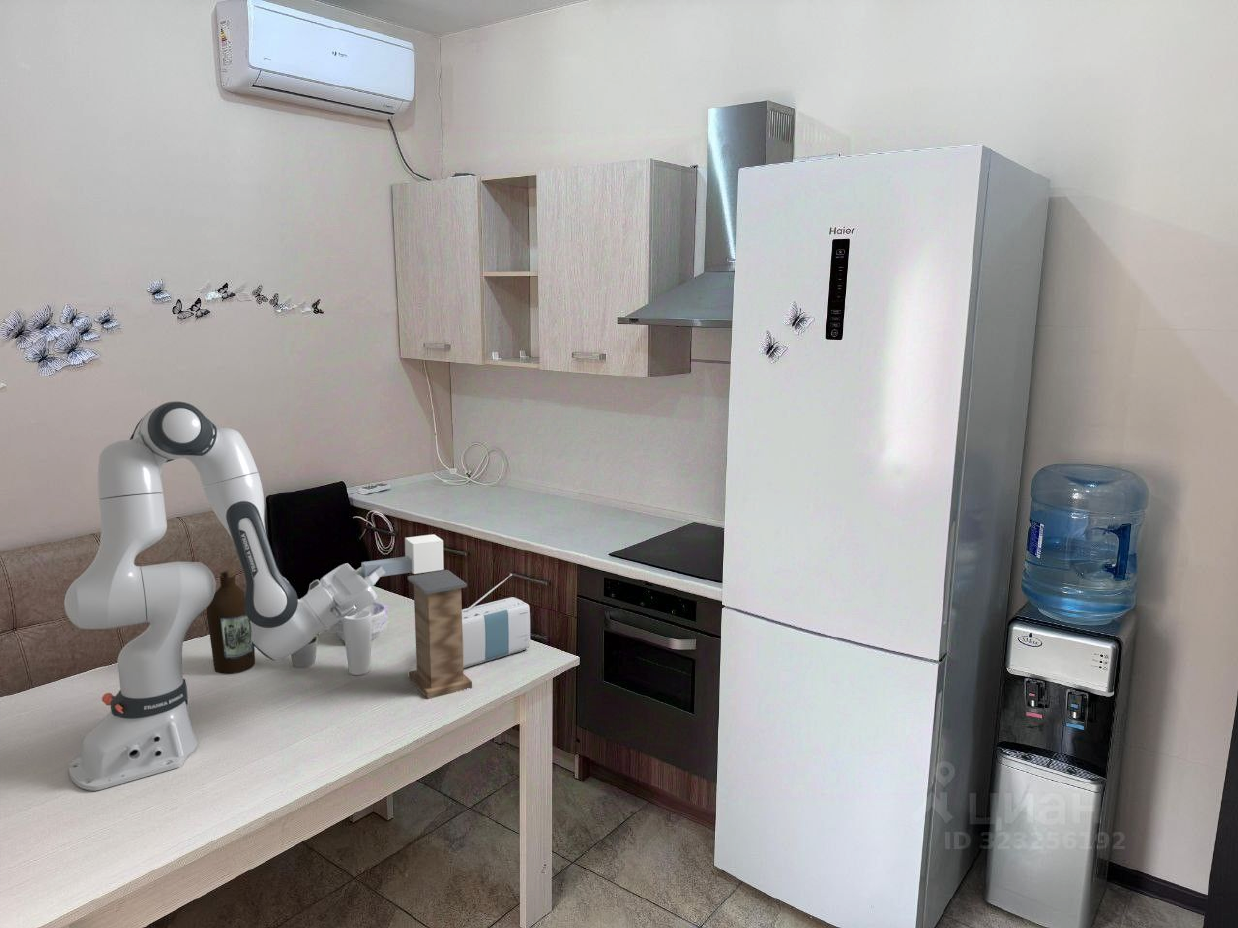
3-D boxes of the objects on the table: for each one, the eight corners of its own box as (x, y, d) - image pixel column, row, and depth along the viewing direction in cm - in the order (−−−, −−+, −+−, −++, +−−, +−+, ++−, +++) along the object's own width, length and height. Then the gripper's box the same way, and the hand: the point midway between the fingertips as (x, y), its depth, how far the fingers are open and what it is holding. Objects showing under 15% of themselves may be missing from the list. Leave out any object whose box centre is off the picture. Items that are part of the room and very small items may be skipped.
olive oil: (205, 665, 212) (196, 570, 207) (248, 653, 219) (241, 561, 214) (220, 679, 204) (211, 580, 199) (264, 666, 211) (257, 571, 207)
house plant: (312, 680, 204) (309, 617, 201) (261, 675, 207) (256, 612, 204) (343, 656, 218) (340, 596, 215) (294, 651, 220) (290, 592, 217)
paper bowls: (400, 633, 234) (399, 605, 232) (357, 651, 221) (355, 623, 220) (362, 621, 242) (361, 595, 240) (318, 639, 229) (316, 611, 227)
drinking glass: (356, 679, 205) (353, 621, 202) (339, 672, 209) (336, 614, 206) (379, 670, 210) (377, 613, 207) (362, 663, 214) (360, 607, 211)
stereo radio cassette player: (461, 672, 210) (459, 596, 206) (445, 661, 216) (443, 587, 212) (532, 651, 223) (531, 579, 219) (515, 641, 229) (514, 571, 225)
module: (367, 580, 186) (366, 550, 184) (360, 573, 191) (358, 543, 189) (443, 569, 195) (443, 540, 194) (434, 562, 200) (434, 534, 199)
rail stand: (427, 698, 196) (424, 592, 191) (408, 677, 206) (405, 576, 201) (472, 687, 201) (469, 583, 196) (451, 667, 212) (448, 568, 207)
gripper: (330, 608, 175) (386, 568, 180) (308, 581, 192) (360, 544, 197) (346, 630, 178) (401, 590, 182) (324, 601, 195) (374, 565, 200)
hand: (380, 566), depth 190 cm, fingers closed on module, 3 cm apart
